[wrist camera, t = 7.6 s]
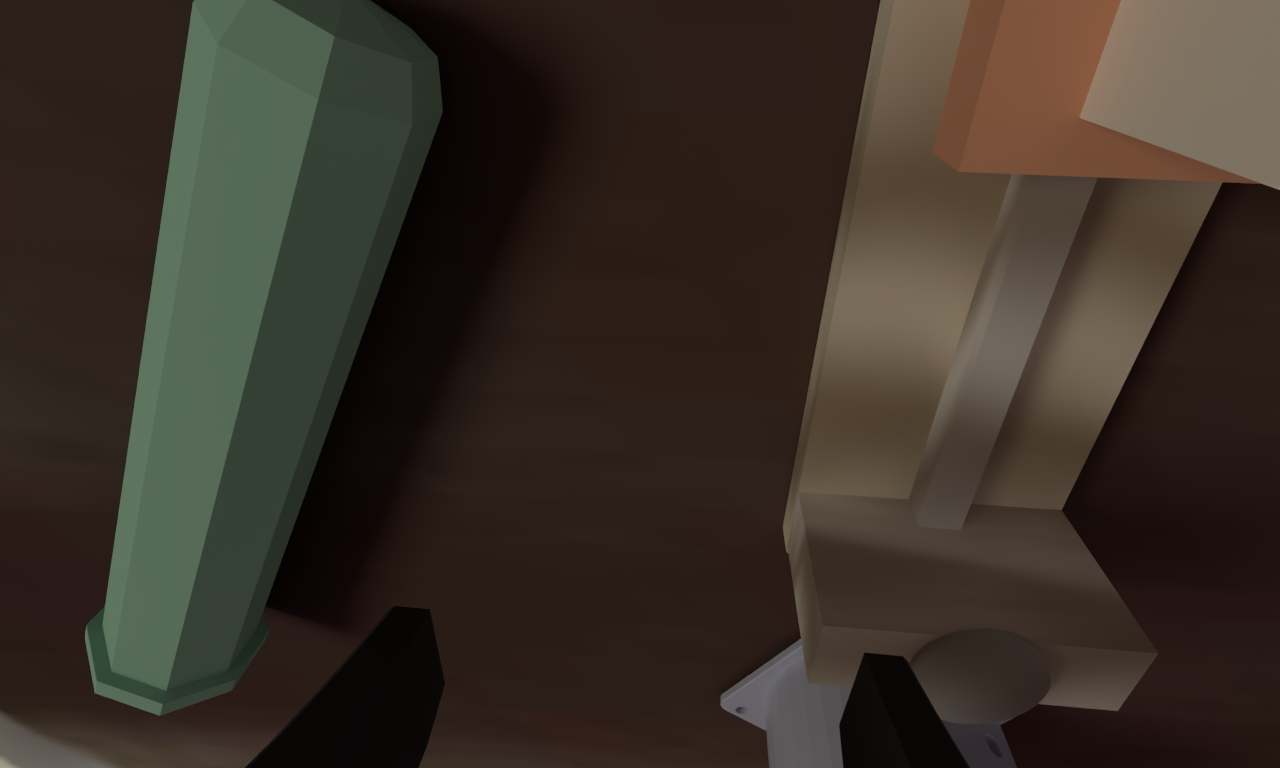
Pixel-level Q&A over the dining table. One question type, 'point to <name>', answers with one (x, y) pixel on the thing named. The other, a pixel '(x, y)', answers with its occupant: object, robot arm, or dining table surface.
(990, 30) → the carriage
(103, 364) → the dining table surface
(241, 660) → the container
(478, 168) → the dining table surface
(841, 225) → the rail
